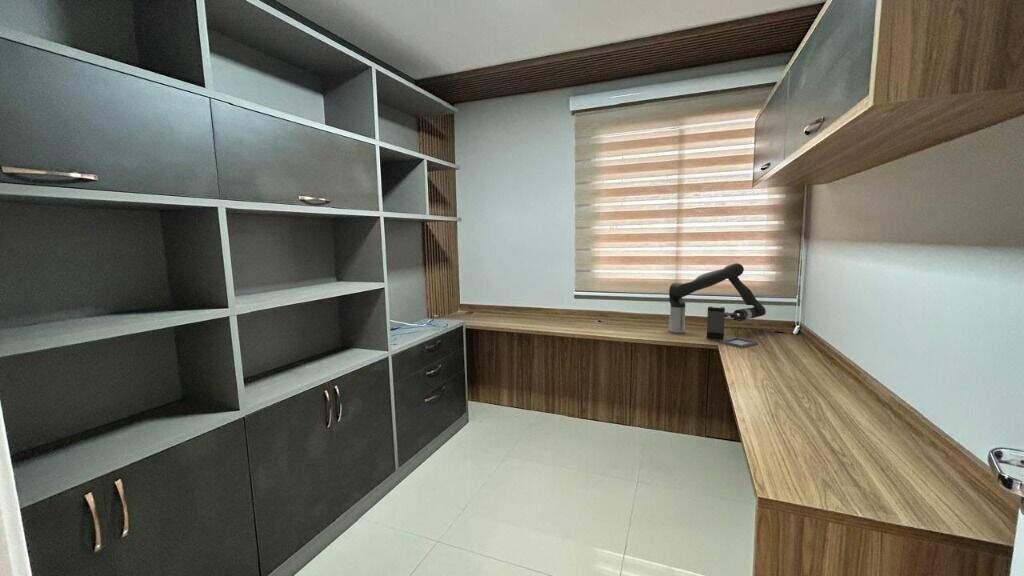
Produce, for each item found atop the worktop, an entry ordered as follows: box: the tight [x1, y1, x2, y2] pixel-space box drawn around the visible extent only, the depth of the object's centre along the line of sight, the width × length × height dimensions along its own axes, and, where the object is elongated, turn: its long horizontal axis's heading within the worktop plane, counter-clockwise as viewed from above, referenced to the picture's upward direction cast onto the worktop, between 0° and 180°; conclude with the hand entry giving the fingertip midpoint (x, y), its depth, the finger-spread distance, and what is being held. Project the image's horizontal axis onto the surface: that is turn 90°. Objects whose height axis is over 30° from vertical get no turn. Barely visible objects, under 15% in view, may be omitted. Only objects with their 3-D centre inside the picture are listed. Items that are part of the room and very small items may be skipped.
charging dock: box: [719, 336, 759, 349], centre depth 234 cm, size 13×16×2 cm
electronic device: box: [706, 306, 726, 342], centre depth 244 cm, size 9×6×20 cm, turn 59°
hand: (727, 317), depth 250 cm, fingers open, 8 cm apart
